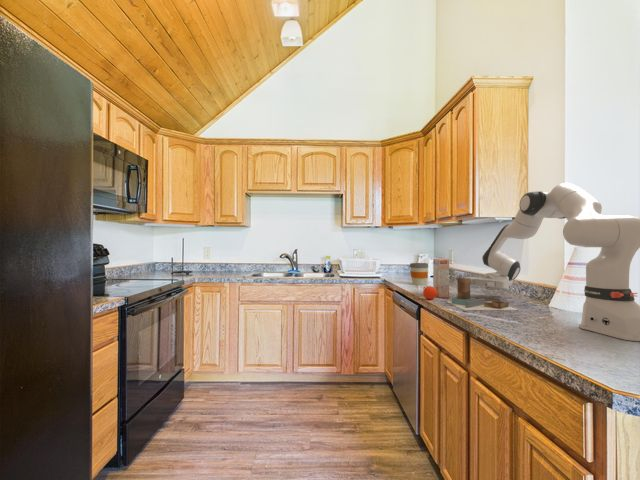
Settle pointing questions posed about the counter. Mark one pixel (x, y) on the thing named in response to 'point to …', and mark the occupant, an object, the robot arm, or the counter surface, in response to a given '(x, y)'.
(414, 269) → the reusable coffee cup
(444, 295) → the cracker box
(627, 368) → the counter surface
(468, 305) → the jamb board
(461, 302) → the index socket
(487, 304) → the keeper
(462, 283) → the stop bar
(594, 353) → the counter surface
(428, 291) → the clementine
